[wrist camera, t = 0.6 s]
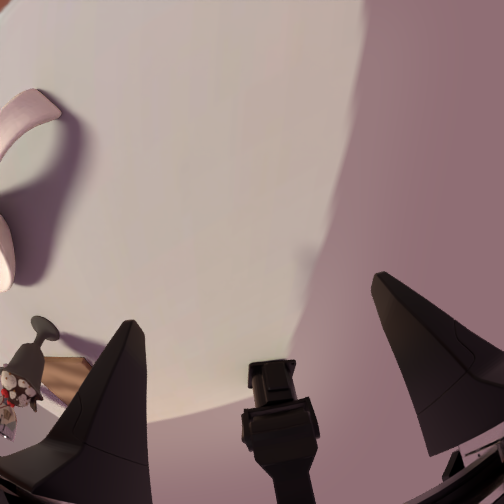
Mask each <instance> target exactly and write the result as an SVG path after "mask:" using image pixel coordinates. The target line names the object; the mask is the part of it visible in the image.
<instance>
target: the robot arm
mask: <svg viewBox="0 0 504 504" xmlns="http://www.w3.org/2000/svg"><path fill="white" fill-rule="evenodd" d="M371 293H372V297H373V300H374V303H375V306H376V309H377V312H378V315H379V318H380V321H381V324H382V327H383V330H384V332H385V334H386V336H387V339H388V341H389V343H390V346H391V348H392V351H393V353H394V355H395V358H396V360H397V363H398V365H399V368H400V370H401V373H402V375H403V378H404V381H405V383H406V386H407V388H408V391H409V394H410V397H411V400H412V402H413V405H414V408H415V411H416V414H417V418H418V420H419V424H420V427H421V430H422V433H423V436H424V440H425V443H426V447H427V450H428V454H429V456H430V457H431V456H434V455H437V454H439V453H441V452H444V451H446V450H449V449H451V448H454V447H456V446H458V447H459V449H457V450H456V451H454V452H453V453H452V455H451V457H450V460H449V462H448V465H447V467H446V469H445V472H444V473H443V475H442V480H443V483H441V484H439V485H438V486H436V487H434V488H433V489H431V490H429V491H427V492H425V493H423V494H422V495H420V496H418V497H416V498H414V499H412V500H410V501H408V502H406V503H404V504H504V351H502V350H500V349H498V348H497V347H495V346H494V345H492V344H490V343H489V342H487V341H486V340H484V339H482V338H481V337H479V336H478V335H476V334H475V333H473V332H471V331H470V330H469V329H467V328H466V327H465V326H463V325H462V324H460V323H459V322H458V321H456V320H454V319H453V318H452V317H451V316H449V315H448V314H447V313H445V312H444V311H442V310H441V309H439V308H438V307H437V306H435V305H434V304H432V303H431V302H430V301H428V300H427V299H425V298H424V297H423V296H421V295H420V294H418V293H417V292H415V291H414V290H412V289H411V288H409V287H408V286H406V285H405V284H403V283H402V282H401V281H399V280H397V279H396V278H395V277H393V276H391V275H390V274H388V273H387V272H385V271H383V272H379V273H376V274H375V275H374V278H373V282H372V286H371ZM295 366H296V361H295V360H284V361H274V362H262V363H251V364H249V372H248V388H250V389H252V388H253V394H254V400H255V407H256V408H251V409H244V413H243V414H242V415H241V417H242V442H243V443H245V444H246V445H247V447H248V449H249V451H250V452H252V451H253V452H254V458H255V461H256V462H257V463H258V464H259V465H260V466H261V467H262V468H263V469H264V470H265V471H266V472H267V473H268V474H269V476H271V478H272V479H273V482H274V488H275V493H276V499H277V504H316V502H315V498H314V493H313V489H312V484H311V480H310V475H309V470H310V468H311V465H312V462H313V460H314V457H315V455H316V452H317V449H318V446H317V441H316V439H319V438H320V432H319V426H318V422H317V419H316V416H315V413H314V410H313V407H312V404H311V401H310V398H309V397H305V398H303V399H299V400H298V399H297V396H296V392H295V387H294V384H293V379H292V376H293V373H294V369H295ZM146 394H147V365H146V350H145V335H144V332H143V331H142V329H141V328H140V327H139V325H138V324H137V322H136V321H135V320H125V321H124V322H123V323H122V324H121V326H120V327H119V329H118V330H117V331H116V333H115V334H114V336H113V337H112V339H111V340H110V342H109V343H108V344H107V346H106V347H105V349H104V350H103V352H102V353H101V355H100V356H99V358H98V359H97V361H96V362H95V364H94V366H93V367H92V369H91V370H90V372H89V373H88V375H87V376H86V378H85V380H84V381H83V383H82V384H81V386H80V388H79V389H78V391H77V392H76V394H75V396H74V397H73V399H72V400H71V402H70V403H69V405H68V407H67V408H66V410H65V411H64V412H63V414H62V415H61V417H60V418H59V420H58V421H57V422H56V424H55V425H54V427H53V428H52V430H51V431H50V432H49V434H48V435H47V436H46V438H45V439H44V440H42V441H41V442H40V443H38V444H36V445H34V446H31V447H29V448H26V449H24V450H21V451H19V452H16V453H13V454H11V455H8V456H3V457H1V456H0V475H1V476H0V504H153V503H152V495H151V486H150V475H149V466H148V465H149V464H148V449H147V416H146Z"/></svg>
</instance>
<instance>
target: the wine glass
mask: <svg viewBox="0 0 504 504" xmlns="http://www.w3.org/2000/svg"><path fill="white" fill-rule="evenodd" d="M7 365H8V364H3V367H7ZM2 400H3V395H2V396H0V404H1V403H2ZM7 400H8V398H5V397H4V401H3V403H2V404H1V405H0V407H3V406H6V405H8V404H7ZM16 427H17V419H16V414H15V412H14V409H13V408H12V407H10V406H7V407H3V408H0V435H1V436H3V437H5V438H6V439H8V440H10V441H14V439H15V434H16Z"/></svg>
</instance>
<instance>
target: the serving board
mask: <svg viewBox="0 0 504 504" xmlns="http://www.w3.org/2000/svg"><path fill="white" fill-rule="evenodd" d="M44 359H45V364H44V371H43V375H42V380H41V382H42V383H43V384H44V385H45V386H46V387H47V388H48V389H49V390H50V391H51V392H53V393H54V394H55V395H56V396H57V397H58V398H59V399H60V400H61V401H63V402H64V403H65V404H66V405H67V406H68V405H69V403H70V402H71V400H72V399H73V397H74V396H75V394H76V392H77V391H78V389H79V388H80V386H81V384H82V383H83V381H84V380H85V378H86V376H87V375H88V373H89V372H90V370H91V369H92V367H91V366H90V365H89V363H88V362H87V361H86V360H85V359H84V358H75V357H44Z"/></svg>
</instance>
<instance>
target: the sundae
mask: <svg viewBox="0 0 504 504" xmlns="http://www.w3.org/2000/svg"><path fill="white" fill-rule="evenodd" d="M31 324H32V326H33V328H34V330H35V331H36V332H37V336H36V339H35V341H34V343H26V344H22V346H21V347H20V348H19V349H18V351H17V352H16V353H15V355H14V357H13V358H12V360H11V361H10V363H9V364H8V365H7V367H0V375H1V383H2V386H3V388H4V389H2V391H1V393H2V395H3V400H2V403H3V401H4V397H5V398H8V400H7V404H8V405H6V406H3V407H7V406H10V407H12V408H13V407H14V406H19V407H25V406H27V405H28V404H29V402H30V406H31V408H32V409H33V410H34V411H35V412H37V407H36V400H40V401H42V400H43V397H42V395H41V394H40V386H41V380H42V375H43V371H44V364H45V359H44V356H43V353H42V351H41V349H40V347H41V345H42V343H43V341H44V340H45V339H47V340H50V341H56V340H58V339H59V333H58V331H57V329H56V328H55V326H54V325H53V324H52V323H51V322H49V321H48V320H47V319H45V318H43V317H40V316H34V317H32V319H31ZM2 403H1V404H2ZM1 404H0V405H1ZM3 407H0V408H3Z"/></svg>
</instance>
